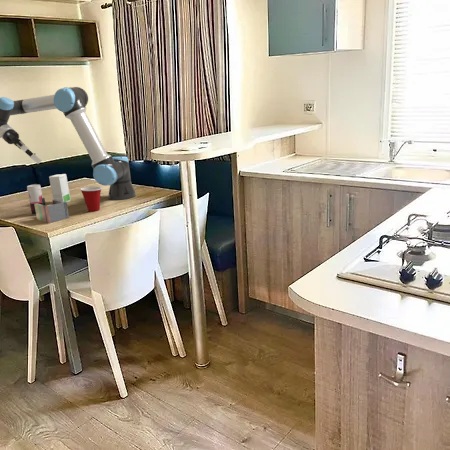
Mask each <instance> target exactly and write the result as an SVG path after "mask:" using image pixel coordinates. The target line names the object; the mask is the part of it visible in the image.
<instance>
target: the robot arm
mask: <svg viewBox="0 0 450 450" xmlns="http://www.w3.org/2000/svg"><path fill="white" fill-rule="evenodd" d="M88 103H89V96H88V93H87V92H86V90H85V89H83V88H81V87H79V86H73V87H71V86H70V87H62V88H59V89H57V90H56V92H55V93H54V94H51V95H44V96H38V97H31V98H24V99H19V100H18V99H17V100H12V99H11V98H9V97H7V96H6V97H5V96H1V97H0V139H1V138H2V140H4V141H5V142H6V143H7V144H9V145H14V146H15V147H17V148H18V149H19V150H22V151H23V152H24V153H25V154H26V155H28V156H29V158H31V159H32V160H33V161H34V162H35V164H37V165H39V164H40V163H41V162H42V159H41V158H40V157H38V156H37V155H36V153H34V152H32V151H31V150H30V149H29V147H28V146H27V145H26V144H25V143H24V142H23V141H22V140H21V139H20V134H19V132H17V131H16V130H15V129H14V128H12V126H10V124H8V122H9V119H10V118H11V116H18V115H25V114H30V113H37V112H42V111H43V112H44V111H49V110H51V111H52V110H58V111H59V112H62V113H63V115H64V117H65V119H68V120H70V121H71V123H72V126H73V127H74V129H75V131H76V133H77V134H78V137H79V138H80V140H81V143H82V144H83V146H84V148H85V150H86V151H87V153H88V155H89V157H90V159H91V167H92V169H93V170H92V171H93V172H92V176H93V179H94V180H95V182H96V183H98V184H99V185H101V186H109V191H108V199H109V200H114V201H116V200H127V199H130V198H134V197H135V196H136V195H137V194H136V193H137V192H136V190H135V188H134V186H133V185H134V184H132V179H131V178H132V177H131V171H130V162H129V158H128V157H127V156H112V155H110V154H108V152H107V151H106V149H105V147H104V145H103V143H102V141H101V140H100V138H99V136H98V134H97V132H96V130H95V128H94V126H93V124H92V122H91V121H90V118H89V116H88V115H87V113H86V111H87V107H86V106H87V105H88Z"/></svg>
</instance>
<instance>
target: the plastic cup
mask: <svg viewBox="0 0 450 450" xmlns="http://www.w3.org/2000/svg"><path fill="white" fill-rule="evenodd" d="M102 189H103V188H102V187H101V186H86V187H82V188H81V187H80V191H81V194H82V196H83V199H84V203H85V206H86V208H87V211H88V212H89V213H90V212H91V213H92V212H93V213H94V212H98V211H100V208H101V207H100V206H101V192H102Z"/></svg>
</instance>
